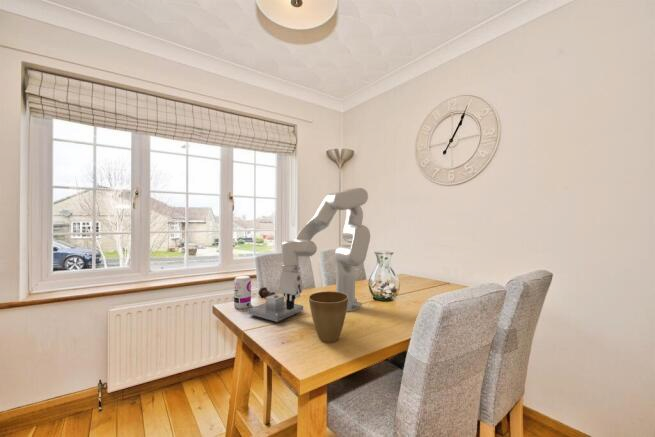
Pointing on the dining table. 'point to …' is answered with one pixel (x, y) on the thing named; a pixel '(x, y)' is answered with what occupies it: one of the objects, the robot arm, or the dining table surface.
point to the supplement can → (242, 292)
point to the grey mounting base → (274, 312)
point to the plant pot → (328, 314)
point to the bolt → (265, 292)
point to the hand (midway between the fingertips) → (290, 308)
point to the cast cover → (275, 302)
